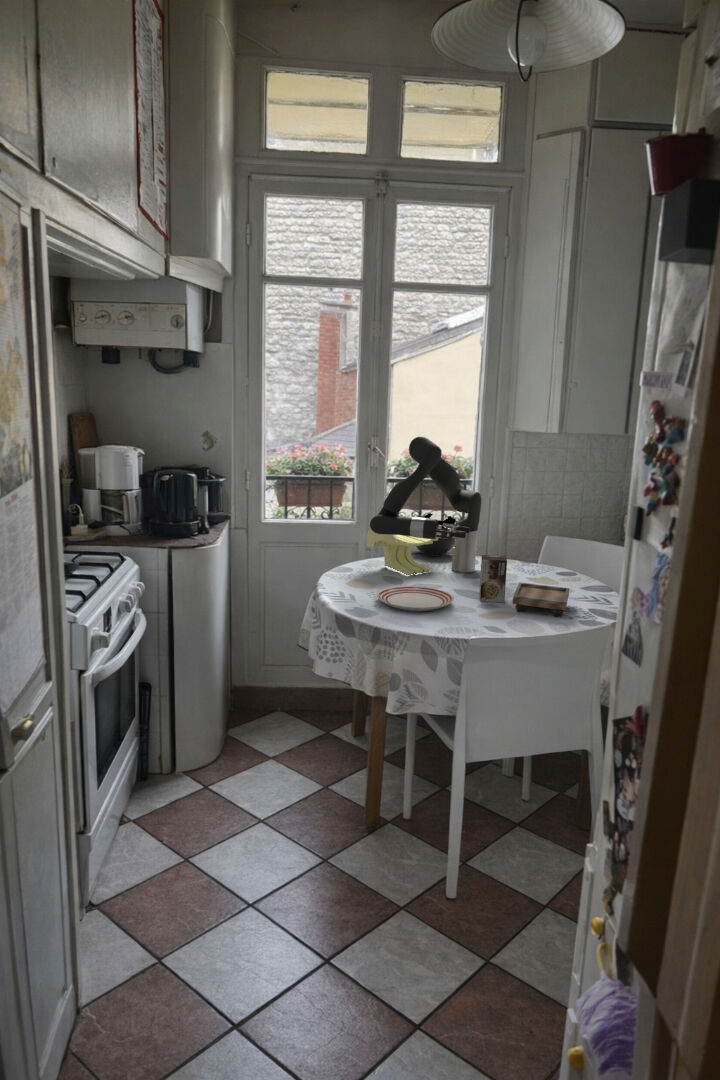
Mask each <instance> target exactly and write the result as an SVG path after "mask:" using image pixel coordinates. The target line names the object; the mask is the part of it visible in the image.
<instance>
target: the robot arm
mask: <svg viewBox="0 0 720 1080" xmlns="http://www.w3.org/2000/svg"><path fill="white" fill-rule="evenodd" d="M408 452H409V453H408V454H409V456H410V457H411V458H412V459H413V460H414V461H415V462H416V463H417V464H418V465H417V468H416V469H415V470H414V471H413V472H412V473H411V474H410V475H409V476H408V477H405V478H404V479H402V480H401V481H399V482H398V483H396V484H395V485H394V486H393V487H392V489H391V490H390V492H389V493H388V495H387V497H386V498H385V499H384V501H383V504H382V505H383V506H382V507H381V509H380V511H379V512H378V514H377V515H375V516H373V517H372V518H371V519H370V521H369V527H370V530H372V531H373V532H375V533H377V534H386V535H391V536H393V535H403V536H412V537H416V538H425V539H436V537H442V538H450V539H452V538H454V546H453V547H452V553H451V555H452V556H451V569H452V570H451V569H450V570H451V571H455V570H456V571H455V572H458V571H460V572H459V573H474V572H475V570H476V561H477V560H476V557H477V545H478V544H477V543H478V529H479V524H480V517H481V510H482V496H481V493H480V492H478V491H474V490H466V489H461V488H460V485H461V484H460V483H461V480H460V479H461V478H460V475H459V473H458V472H457V471H456V469H455V468H454V467H453V466H452V465H451V464H450V463H449V462H448V461H447V460H446V459H444V457H442V454H443V453H442V452H443V451H442V449H441V447H440V446H438V445H437V444H436V443H435V442H433V440H431V439H429V438H428V437H426V436H416V437H415V438H413V439H412V440H411V441H410V442H409V444H408ZM427 476H429V477H430V479H431V480H432V481H433V483H434V484H435V486H437V488H438V489H439V490H440V491H441V492H442V494H443V495H444V496H445V497H446V498H447V500H448V501H449V503H450V505H451V506H452V508H453V510H454V511H456V512H459V513H461V514H462V513H463V514H466V515H467V517H466V518H465V519H461V520H457V521H455V524H448V523H443V525H438V521H439V520H438V519H436V518H430V519H429V518H420V517H409V516H398V515H399V514H400V512H401V510H402V509H403V508H404V506H405V504H406V503H407V502H408V500H409V498H410V497H411V495H412V494H413V493H414V491H415V490H416V489H417V488H418V487H419V485H421V483H422V482H423V481H424V480H425V479H426V478H427ZM454 528H455V529H454Z"/></svg>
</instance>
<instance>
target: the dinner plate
mask: <svg viewBox="0 0 720 1080" xmlns="http://www.w3.org/2000/svg"><path fill="white" fill-rule="evenodd" d="M376 597H377V599H378V600H379V601H380V602H382V603H384V604H386V605H388V606H390V607H393V608H395V607H396V609H397V608H400V609H399V610H401V609H404V610H403V611H406V610H410V611H409V612H428V611H433V610H437V609H440V608H444V607H446V606H448V605H450V604H451V603H453V601H454V600H455V597H454V596H453V594H451V593H449V592H447V591H445V590H443V589H439V588H434V587H433V588H432V587H428V586H427V587H426V586H417V585H401V586H393V587H388V588H384V589H381V590H379V591H378V592H377V593H376Z"/></svg>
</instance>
